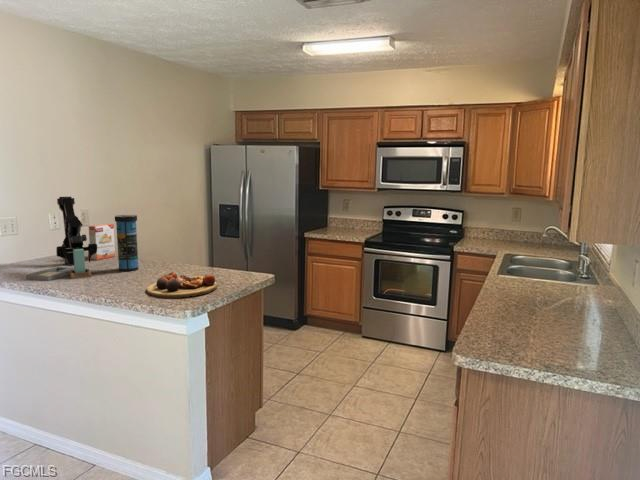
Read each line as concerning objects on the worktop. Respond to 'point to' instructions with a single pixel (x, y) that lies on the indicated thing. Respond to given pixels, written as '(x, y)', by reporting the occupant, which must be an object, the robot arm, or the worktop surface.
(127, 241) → the advertising column
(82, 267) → the post
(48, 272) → the board
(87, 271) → the cubby
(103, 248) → the cracker box
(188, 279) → the wooden plate with food
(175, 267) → the worktop surface
